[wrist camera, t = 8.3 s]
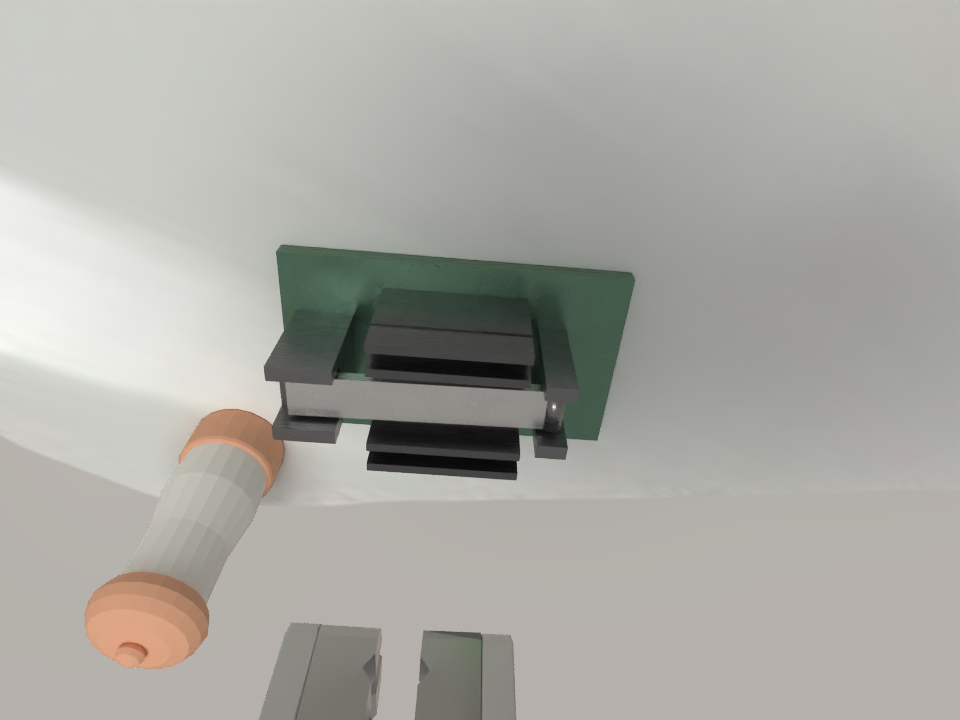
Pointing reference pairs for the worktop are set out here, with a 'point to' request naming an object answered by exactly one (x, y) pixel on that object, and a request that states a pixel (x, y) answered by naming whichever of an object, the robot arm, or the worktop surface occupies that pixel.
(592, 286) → the cooling board
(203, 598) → the pepper shaker
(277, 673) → the robot arm
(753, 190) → the worktop surface
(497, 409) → the steel strap
